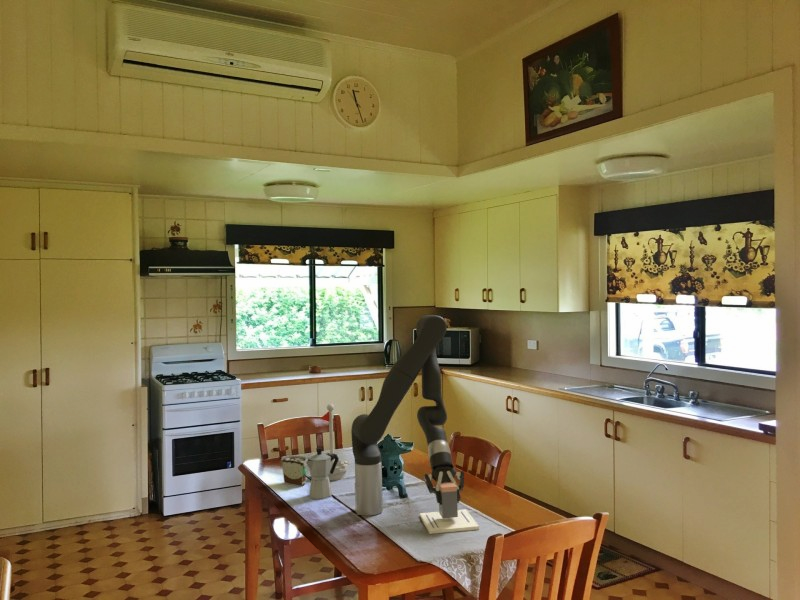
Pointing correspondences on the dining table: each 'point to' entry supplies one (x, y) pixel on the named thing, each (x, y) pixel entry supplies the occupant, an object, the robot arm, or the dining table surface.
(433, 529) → the notepad
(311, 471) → the coffee maker
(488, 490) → the dining table surface
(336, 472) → the flag stand
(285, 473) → the food container
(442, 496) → the grey pink block
